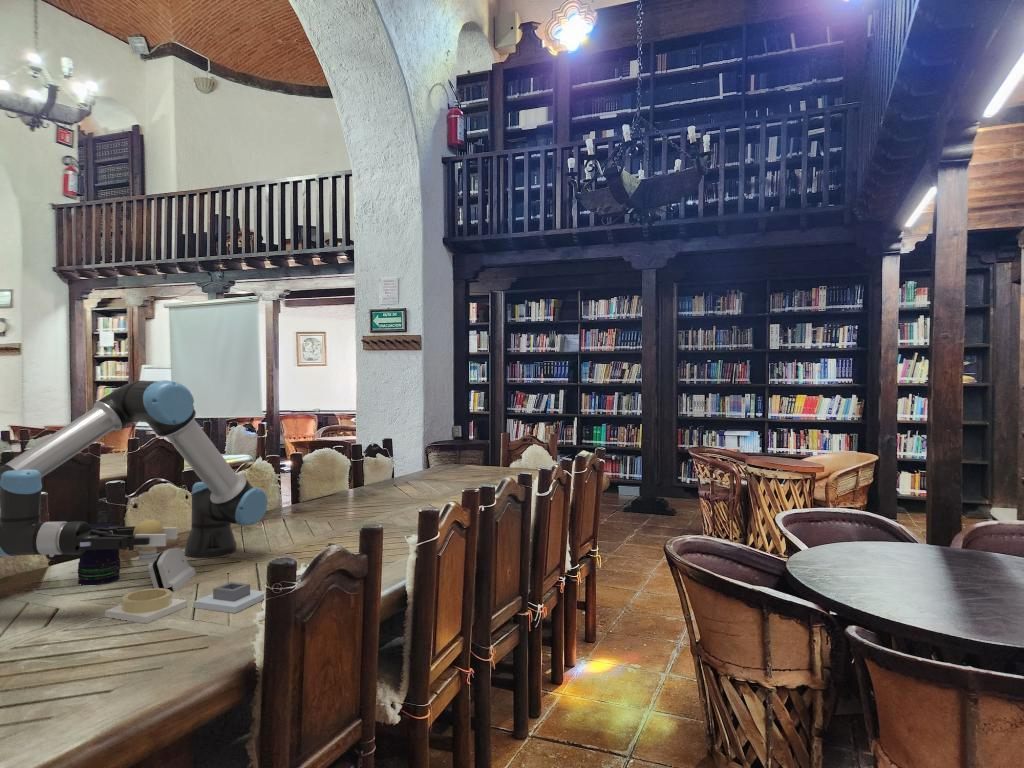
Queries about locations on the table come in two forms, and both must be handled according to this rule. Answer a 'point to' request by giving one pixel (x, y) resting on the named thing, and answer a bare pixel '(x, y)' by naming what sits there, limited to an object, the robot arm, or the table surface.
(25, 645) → the table surface
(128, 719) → the table surface
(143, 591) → the round socket
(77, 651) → the table surface
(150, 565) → the white curved block
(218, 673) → the table surface
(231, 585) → the square socket
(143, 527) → the light bulb
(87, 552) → the storage jar
